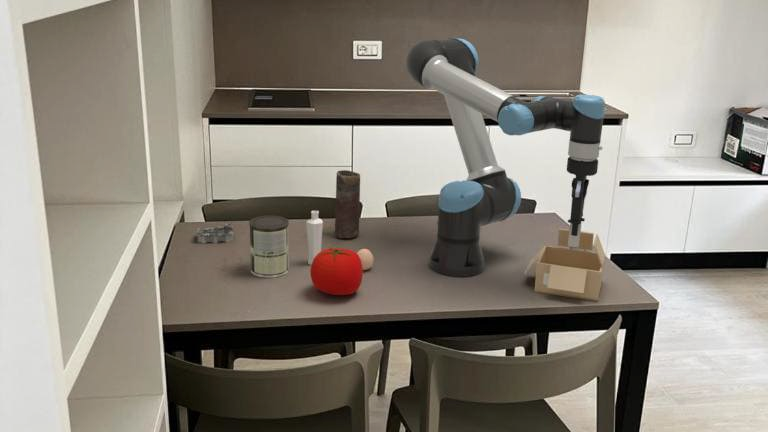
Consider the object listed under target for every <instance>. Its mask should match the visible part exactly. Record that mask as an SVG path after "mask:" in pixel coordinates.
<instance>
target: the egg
mask: <svg viewBox="0 0 768 432" xmlns="http://www.w3.org/2000/svg"><path fill="white" fill-rule="evenodd" d="M356 253H357V254H358V256H359V257H360V259H361V263H362V268H363V271H365V270H366V271H367V270H369V269H370V268H372V266H373V265H374V261H375V260H374V255H373V254H372V252H371V250H369V249H367V248H362V249H361V248H360V250H358V251H357V252H356Z"/></svg>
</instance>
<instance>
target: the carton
mask: <svg viewBox="0 0 768 432" xmlns="http://www.w3.org/2000/svg"><path fill="white" fill-rule="evenodd" d="M605 259H606V257H605V258H604V262H603V266H601V264H600V261H599V258H598V255H597V253H596V251H590V250H587V251H582V250H574V249H570V248H568V247H561V246H559V247H558V246H551V245H544V246H543V251H542V253H541V255H540V258H539V259H538V261H537V262H536V272H535V281H534V282H535V283H534V290H533V291H534V293H540V294H546V295H553V296H561V297H565V298H572V299H573V298H574V299H578V300H579V299H580V300H584V299H585V300H586V301H592V302H597V303H598V301H599V296H600V292H601V287H602V283H603V277H604V268H605ZM551 265H558V266H565V267H572V268H578V269H585V270H587V274H586V281H585V287H584V293H578V292H571V291H565V290H558V289H552V288H547V286H548V279H549V273H550V267H551ZM585 300H584V301H585Z"/></svg>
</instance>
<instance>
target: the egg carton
mask: <svg viewBox="0 0 768 432" xmlns="http://www.w3.org/2000/svg"><path fill="white" fill-rule="evenodd" d="M196 229H197V230H196V234H197V242H198V243H200V242H201V243H200V244H202V243H203V244H206V242H207V243H213V244H217V243H219V242H224V243H230V242H233V241H234V227H233V223H231V222H230V223H223V224H221V226H218V225H217V226H214V227H207V228H196Z"/></svg>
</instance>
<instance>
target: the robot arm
mask: <svg viewBox="0 0 768 432" xmlns="http://www.w3.org/2000/svg"><path fill="white" fill-rule="evenodd" d="M478 65H479V55H478V53H477V50H476V48H475V47H474V45H473V44H472V43H471V42H470V41H468V40H466V39H464V38H460V37H459V38H457V37H448V38H437V39H424V40H421V41H418V42H416V43H415V44H413V45H412V46H411V47H410V49H409V50H408V51H407V54H406V57H405V69H406V72H407V74H408V76H409V77H410V79H412V80H413V81H414V82H415V83H417V84H418V85H420V86H422V87H423V88H426V89H427V90H435V89H436V92H437V93H440V94H441V95H443V96H444V99H445V100H444V101H445V102H446V106H447V109H448V112H449V115H450V118H451V122H452V125H453V128H454V131H455V135H456V138H457V141H458V143H459V144H458V145H459V147H460V150H461V154H462V157H463V161H464V163H465V166H466V167H465V168H466V169H467V170H466V171H467V173H468V174H467V175H468V176H467V178H466V180H462V181H460V180H456V181H451V182H448V183H447V184H444V185H443V186H442V187H441V190H440V191H439V198H438V201H437V204H438V211H437V234H436V240H435V244H434V245H433V249H432V251H431V253H430V256H429V265H428V266H429V268H430V270H432V271H435V272H436V273H439V274H442V275H445V276H451V277H471V276H476V275H478V274H480V273H482V272H483V271H484V269H485V259H484V255H483V250H482V246H481V244H480V236H481V227H483V226H487V225H491V224H494V223H497V222H503V221H505V220H507V219H509V218H511V217H513V216H514V215H515V214H516V213H517V211H519V207H520V205H521V204H522V203H521V202H522V192H521V189H520V187H519V184H518V183H517V182H516V181H514V179H512V178H510V177H508V176H507V175H508V174H507V172H506V169H504V168H503V167H501V166H499V165H498V161H497V159H496V155H495V152H494V149H493V147H492V146H493V145H492V142H491V140H490V136H489V132H488V131H487V126H486V123H485V120H484V117H483V115H484V116H486V117H487V118H490V119H491V120H493V121H495V122H497V123H498V127H499V129H501V131H502V132H503V133H504V134H505V135H508V136H524V135H526V134H530V133H534V132H540V131H545V130H551V129H555V130H556V129H557V130H561V131H566V132H570V133H569V142H568V152H567V154H568V158H567V163H566V164H567V165H566V172H567V173H569V174H571V175H574V176H575V177H573V178H572V180H571V205H570V206H571V207H570V209H571V210H570V218H569V219H567V223H569V229H568V230H569V239H568V246H571V247H579V241H580V232H581V231H582V230H581V229H582V223H583V222H585V221H586V219H585V218H584V217H583V216H584V209H585V207H584V206H585V200H586V196H587V194H588V188H589V187H588V186H590V185H589V184H590V179H588V178H587V177H591V176H595V175H597V174H598V168H599V160H598V158H599V157H600V151H602V150H603V146H602V145H601V139H602V131H603V125H604V118H605V99H604V97H601V96H599V95H595V94H577V95H575V96H574V99H573V100H569V99H568V100H567V99H563V98H559V97H558V98H557V97H553V96H544V95H539V96H537V97H535V99H533V100H531V101H524V100H522V99H521V98H518V97H516V96H515V95H512V94H510V93H508V92H506V91H505V90H503V89H500V88H499V87H496V86H494V85H493V84H490V83H488V82H486V81H484V80H482V79H480V78H478V77H477V76H476V72H477V70H478V69H479V68H478Z"/></svg>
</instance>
